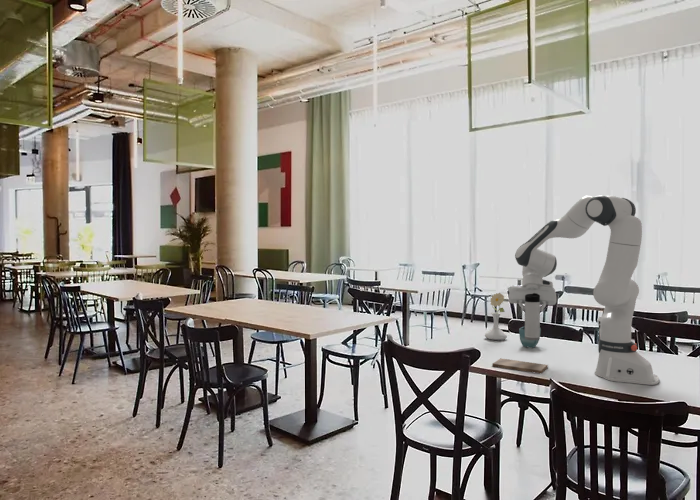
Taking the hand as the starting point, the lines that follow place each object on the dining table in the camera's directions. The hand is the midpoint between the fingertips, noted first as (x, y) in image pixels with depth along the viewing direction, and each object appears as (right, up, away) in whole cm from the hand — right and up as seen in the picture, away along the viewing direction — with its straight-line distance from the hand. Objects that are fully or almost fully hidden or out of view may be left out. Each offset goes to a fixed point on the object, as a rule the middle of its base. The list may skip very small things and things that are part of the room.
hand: (532, 310), depth 233 cm
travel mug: (0, -13, +1) cm, 13 cm away
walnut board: (-9, -23, -9) cm, 26 cm away
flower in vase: (-3, -21, +46) cm, 50 cm away
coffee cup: (+47, -22, +29) cm, 59 cm away
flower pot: (+9, -21, +29) cm, 37 cm away
